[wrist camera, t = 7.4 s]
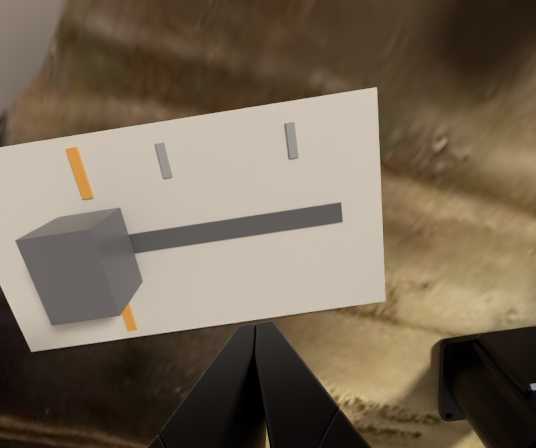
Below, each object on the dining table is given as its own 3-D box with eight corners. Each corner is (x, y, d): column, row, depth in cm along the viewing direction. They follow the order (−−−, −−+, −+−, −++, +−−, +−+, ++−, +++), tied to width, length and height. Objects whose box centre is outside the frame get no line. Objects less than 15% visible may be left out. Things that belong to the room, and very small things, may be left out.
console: (376, 287, 20) (386, 302, 18) (47, 334, 20) (30, 353, 19) (366, 89, 16) (377, 87, 15) (-33, 152, 17) (-62, 157, 15)
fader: (143, 281, 17) (120, 315, 14) (85, 289, 17) (51, 325, 14) (120, 207, 16) (89, 229, 13) (58, 217, 16) (15, 240, 13)
